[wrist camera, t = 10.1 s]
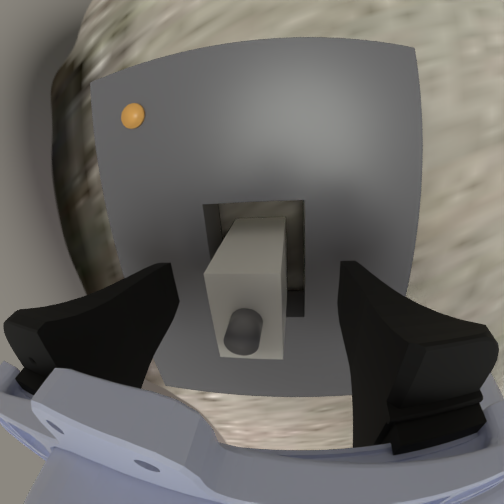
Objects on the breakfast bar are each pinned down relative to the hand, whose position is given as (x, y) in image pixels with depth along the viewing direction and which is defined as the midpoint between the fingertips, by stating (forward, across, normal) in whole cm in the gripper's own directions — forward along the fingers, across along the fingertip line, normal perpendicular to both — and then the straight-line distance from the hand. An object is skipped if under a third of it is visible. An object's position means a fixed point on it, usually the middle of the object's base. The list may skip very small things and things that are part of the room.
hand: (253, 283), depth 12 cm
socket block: (+4, 0, 0) cm, 4 cm away
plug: (+4, 0, 0) cm, 4 cm away
